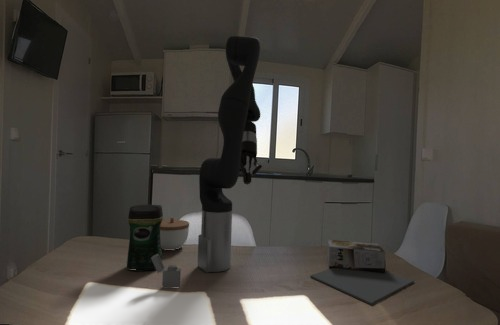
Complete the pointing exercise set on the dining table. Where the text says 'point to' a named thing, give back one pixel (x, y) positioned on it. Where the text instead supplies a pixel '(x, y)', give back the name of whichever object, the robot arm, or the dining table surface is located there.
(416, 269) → the dining table surface
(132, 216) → the coffee jar
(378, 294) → the rubber mat
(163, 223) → the lidded bowl
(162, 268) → the lighter
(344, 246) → the coffee box
